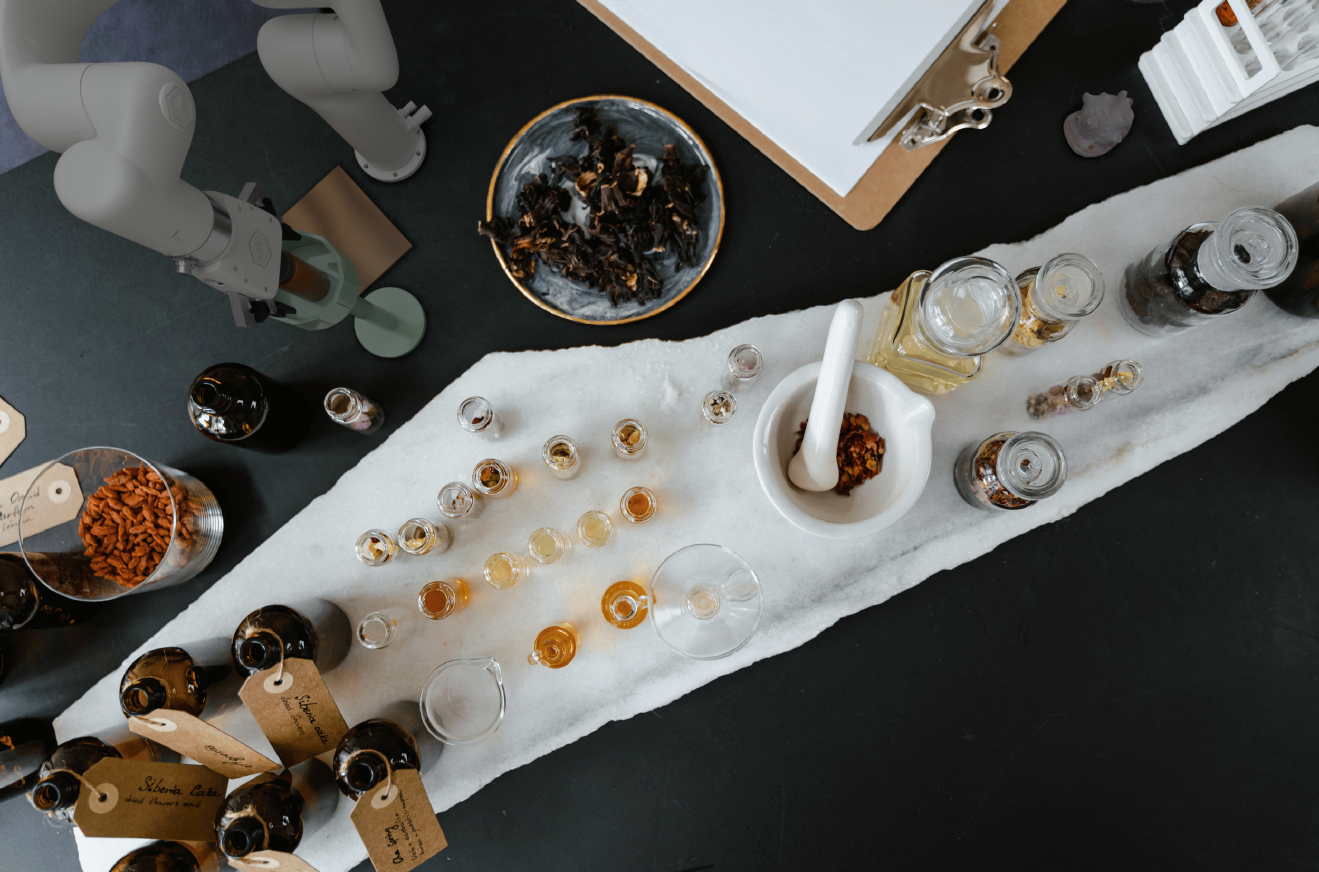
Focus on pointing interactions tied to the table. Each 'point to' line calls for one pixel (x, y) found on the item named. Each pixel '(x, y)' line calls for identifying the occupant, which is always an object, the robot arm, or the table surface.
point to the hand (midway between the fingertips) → (288, 274)
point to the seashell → (1099, 123)
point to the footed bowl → (354, 302)
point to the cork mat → (350, 225)
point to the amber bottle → (302, 278)
